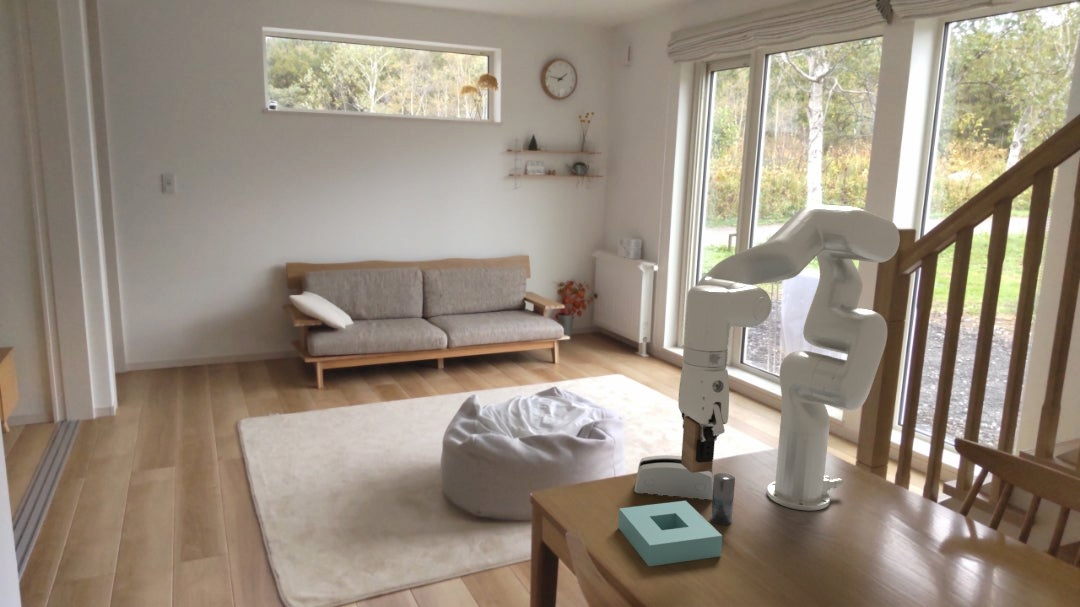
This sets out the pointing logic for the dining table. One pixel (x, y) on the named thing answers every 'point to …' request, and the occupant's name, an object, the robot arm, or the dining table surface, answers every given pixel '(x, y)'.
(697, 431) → the square peg
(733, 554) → the dining table surface
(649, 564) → the bore block
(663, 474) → the slotted arch block
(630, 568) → the dining table surface
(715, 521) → the round peg
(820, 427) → the robot arm
